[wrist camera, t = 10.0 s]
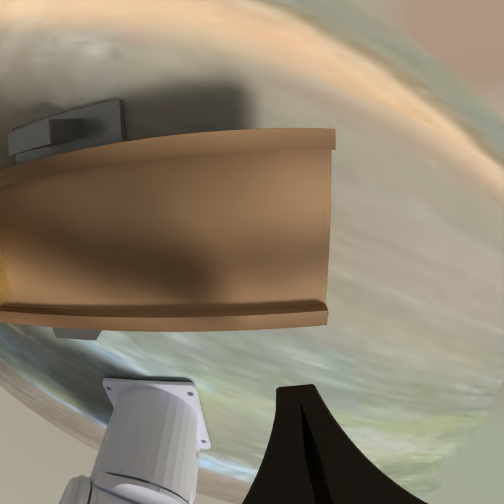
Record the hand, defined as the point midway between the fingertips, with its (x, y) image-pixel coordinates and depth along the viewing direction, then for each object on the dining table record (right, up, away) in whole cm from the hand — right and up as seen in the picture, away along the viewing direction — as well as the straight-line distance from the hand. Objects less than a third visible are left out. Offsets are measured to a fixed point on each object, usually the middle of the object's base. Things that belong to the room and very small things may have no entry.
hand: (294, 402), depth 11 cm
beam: (-12, +7, +6) cm, 16 cm away
